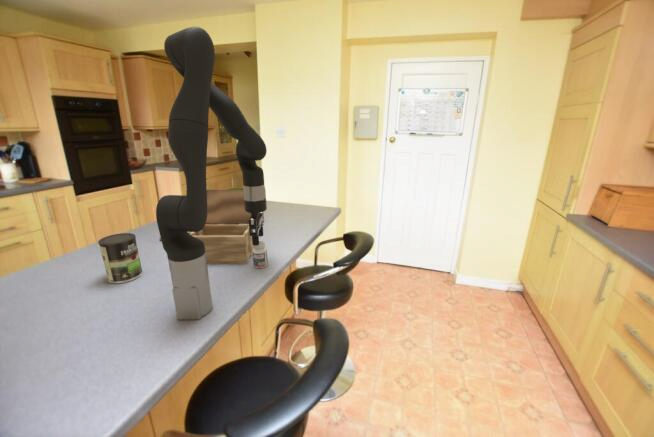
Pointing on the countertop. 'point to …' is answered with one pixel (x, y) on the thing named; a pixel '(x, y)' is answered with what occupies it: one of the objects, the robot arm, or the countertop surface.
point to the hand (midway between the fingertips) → (258, 240)
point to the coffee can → (121, 257)
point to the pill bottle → (260, 255)
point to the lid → (226, 207)
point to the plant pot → (235, 188)
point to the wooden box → (226, 243)
